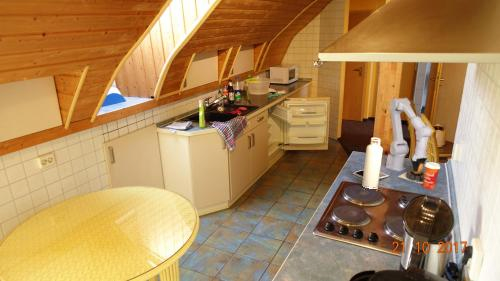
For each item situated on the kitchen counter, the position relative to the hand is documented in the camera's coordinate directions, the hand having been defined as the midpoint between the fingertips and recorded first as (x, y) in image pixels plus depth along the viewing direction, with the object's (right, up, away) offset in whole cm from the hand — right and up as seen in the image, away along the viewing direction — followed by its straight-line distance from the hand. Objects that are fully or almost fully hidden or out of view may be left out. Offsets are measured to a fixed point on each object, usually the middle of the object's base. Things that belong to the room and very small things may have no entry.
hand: (417, 169), depth 203 cm
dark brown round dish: (0, -5, +2) cm, 5 cm away
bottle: (-32, -9, -12) cm, 35 cm away
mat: (-1, -5, +2) cm, 6 cm away
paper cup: (+1, -9, -11) cm, 14 cm away
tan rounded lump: (0, -1, 0) cm, 2 cm away
